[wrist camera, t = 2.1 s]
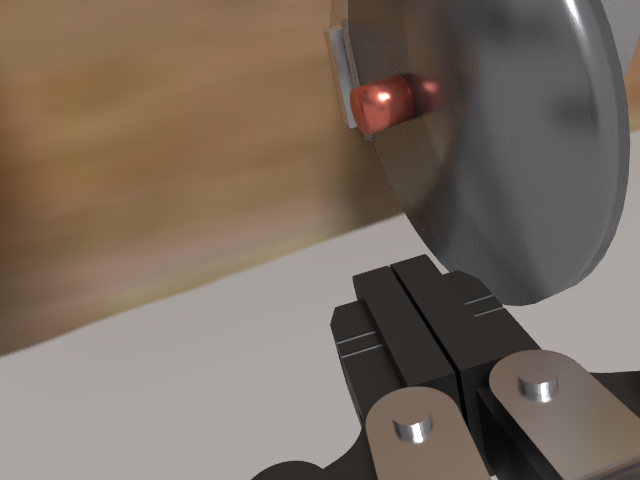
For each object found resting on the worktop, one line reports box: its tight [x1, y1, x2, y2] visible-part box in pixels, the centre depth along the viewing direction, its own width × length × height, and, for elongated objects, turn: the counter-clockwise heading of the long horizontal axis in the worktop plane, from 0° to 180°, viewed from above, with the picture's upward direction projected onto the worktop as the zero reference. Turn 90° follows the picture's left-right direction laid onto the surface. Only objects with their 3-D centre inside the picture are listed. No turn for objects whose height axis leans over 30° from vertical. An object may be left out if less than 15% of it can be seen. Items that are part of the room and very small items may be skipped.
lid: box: [341, 0, 630, 306], centre depth 22 cm, size 20×17×3 cm
